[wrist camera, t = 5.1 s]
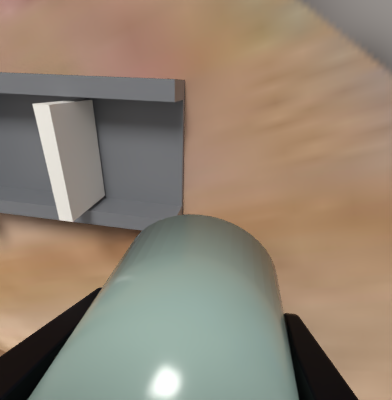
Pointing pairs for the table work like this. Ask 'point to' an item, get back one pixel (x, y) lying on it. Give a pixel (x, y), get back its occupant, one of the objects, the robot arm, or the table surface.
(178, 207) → the pusher lane
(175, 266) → the jar
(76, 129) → the plate
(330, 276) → the table surface
